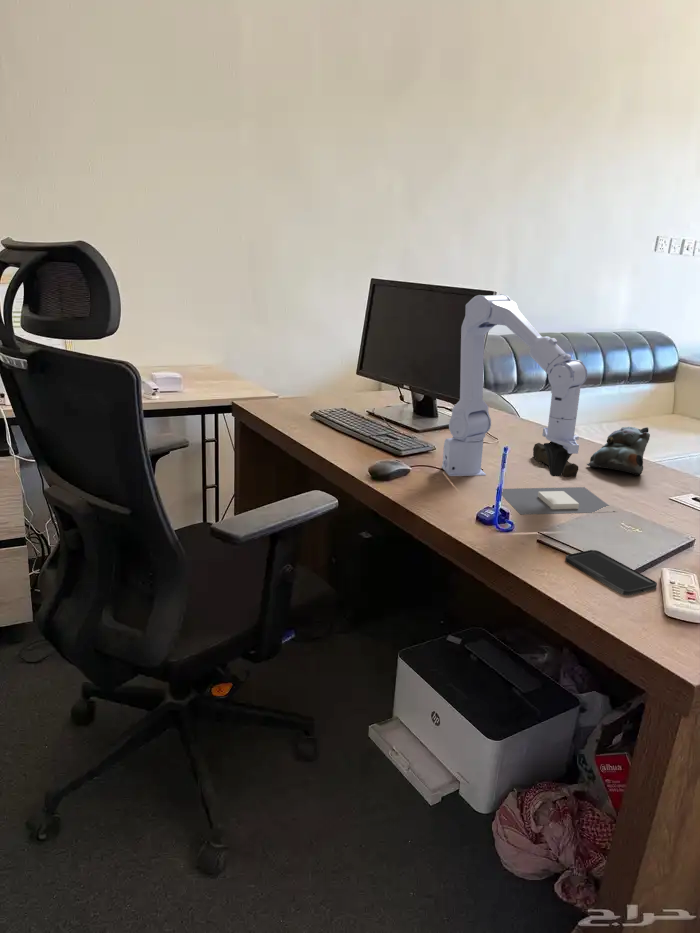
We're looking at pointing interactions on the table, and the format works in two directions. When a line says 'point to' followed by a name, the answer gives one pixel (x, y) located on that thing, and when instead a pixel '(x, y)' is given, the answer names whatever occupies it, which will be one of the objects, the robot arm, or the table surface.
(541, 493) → the tile
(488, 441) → the table surface
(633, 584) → the phone
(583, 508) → the mat
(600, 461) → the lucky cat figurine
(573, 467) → the hand tool
